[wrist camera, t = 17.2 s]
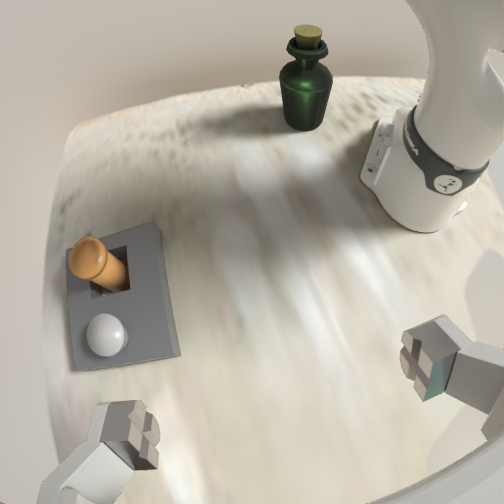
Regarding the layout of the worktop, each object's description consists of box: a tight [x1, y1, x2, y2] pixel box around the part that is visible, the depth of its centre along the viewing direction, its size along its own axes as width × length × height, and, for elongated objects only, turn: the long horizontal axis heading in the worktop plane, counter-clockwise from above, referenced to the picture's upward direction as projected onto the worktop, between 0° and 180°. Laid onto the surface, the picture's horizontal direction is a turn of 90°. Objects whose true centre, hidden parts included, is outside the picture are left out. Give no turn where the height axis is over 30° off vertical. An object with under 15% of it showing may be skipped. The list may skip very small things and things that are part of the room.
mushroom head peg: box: [69, 237, 130, 293], centre depth 37 cm, size 5×5×9 cm
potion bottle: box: [279, 25, 333, 131], centre depth 41 cm, size 8×8×18 cm
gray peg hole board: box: [66, 222, 181, 371], centre depth 38 cm, size 18×15×6 cm
